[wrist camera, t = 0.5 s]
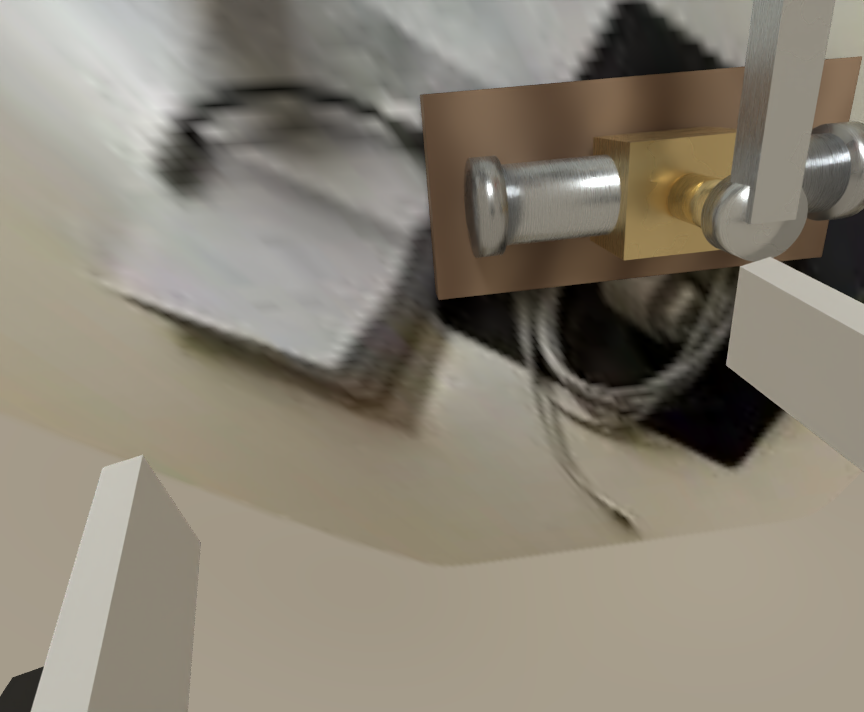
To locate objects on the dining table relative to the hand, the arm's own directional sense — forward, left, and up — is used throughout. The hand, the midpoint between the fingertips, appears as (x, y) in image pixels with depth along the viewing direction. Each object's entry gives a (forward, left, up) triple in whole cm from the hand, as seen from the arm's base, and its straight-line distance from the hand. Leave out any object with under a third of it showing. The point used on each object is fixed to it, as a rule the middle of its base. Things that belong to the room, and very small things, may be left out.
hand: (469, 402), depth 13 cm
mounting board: (0, +15, -25) cm, 30 cm away
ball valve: (0, +15, -24) cm, 28 cm away
